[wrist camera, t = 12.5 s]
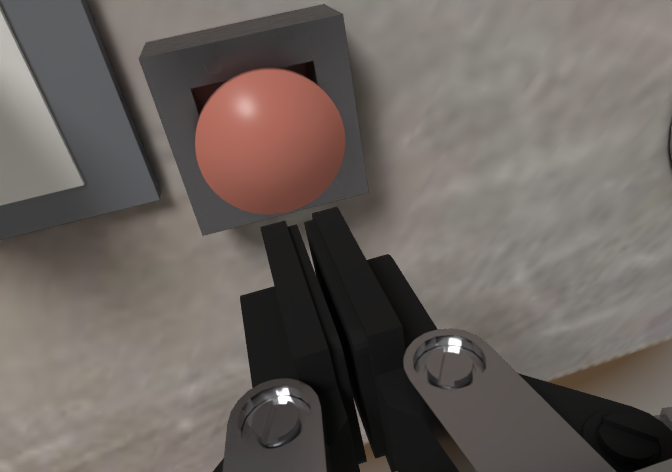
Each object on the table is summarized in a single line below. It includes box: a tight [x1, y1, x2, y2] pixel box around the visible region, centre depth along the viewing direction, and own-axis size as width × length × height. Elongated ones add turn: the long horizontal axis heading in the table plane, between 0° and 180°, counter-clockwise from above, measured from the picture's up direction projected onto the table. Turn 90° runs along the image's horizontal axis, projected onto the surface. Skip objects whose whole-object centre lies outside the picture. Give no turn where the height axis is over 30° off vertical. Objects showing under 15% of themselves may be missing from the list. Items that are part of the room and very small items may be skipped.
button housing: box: [139, 4, 369, 236], centre depth 20 cm, size 7×7×3 cm
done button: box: [195, 68, 345, 215], centre depth 19 cm, size 5×5×3 cm
